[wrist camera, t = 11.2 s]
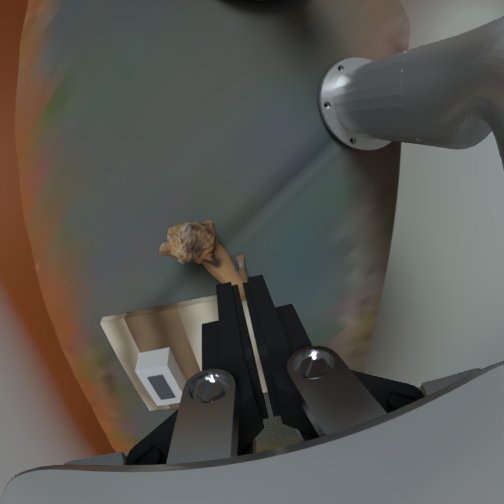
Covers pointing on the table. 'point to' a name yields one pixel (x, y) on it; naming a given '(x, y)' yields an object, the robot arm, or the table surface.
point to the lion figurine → (204, 252)
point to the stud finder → (161, 376)
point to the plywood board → (167, 338)
